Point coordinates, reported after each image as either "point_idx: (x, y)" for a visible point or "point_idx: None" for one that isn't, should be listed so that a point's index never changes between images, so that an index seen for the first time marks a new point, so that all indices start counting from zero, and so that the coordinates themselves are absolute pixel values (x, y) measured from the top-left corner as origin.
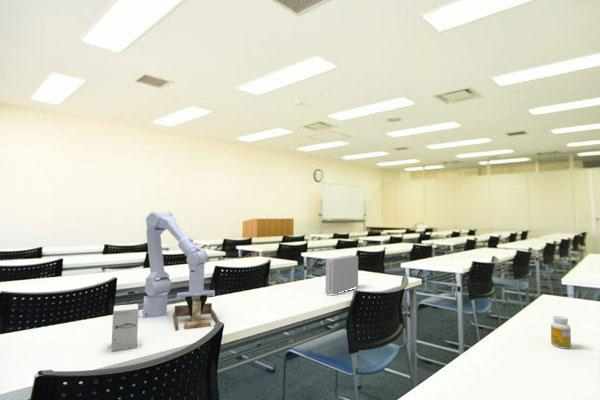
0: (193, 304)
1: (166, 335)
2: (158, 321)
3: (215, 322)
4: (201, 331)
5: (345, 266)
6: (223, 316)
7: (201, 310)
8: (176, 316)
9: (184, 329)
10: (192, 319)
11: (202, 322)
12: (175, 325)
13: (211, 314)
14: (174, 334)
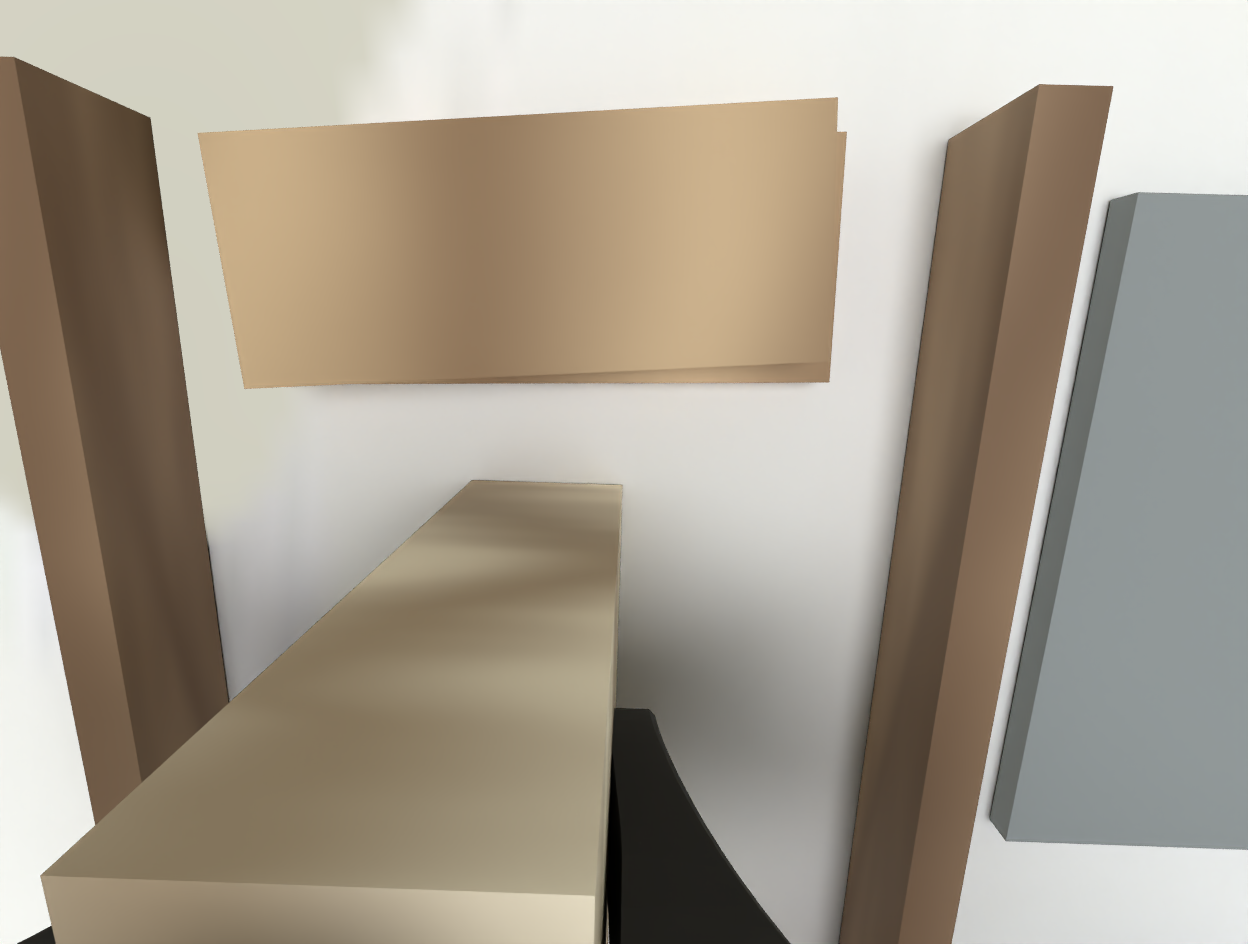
0: (576, 784)
1: (1201, 46)
2: (1121, 930)
3: (140, 368)
4: (486, 39)
5: None
6: (31, 832)
7: None
8: (915, 866)
9: (839, 136)
10: (619, 537)
11: (407, 198)
12: (1096, 168)
13: None
14: (1040, 51)
